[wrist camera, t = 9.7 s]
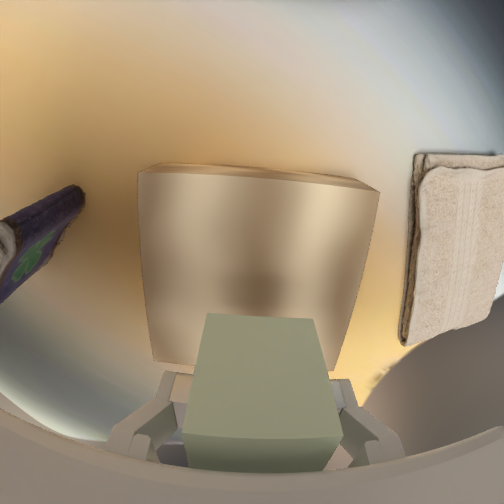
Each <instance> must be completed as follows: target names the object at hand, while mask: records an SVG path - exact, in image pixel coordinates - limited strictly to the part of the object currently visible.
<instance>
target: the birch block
mask: <svg viewBox="0 0 504 504" xmlns="http://www.w3.org/2000/svg"><path fill="white" fill-rule="evenodd" d="M379 195H380V192H379V191H377V190H375V189H373V188H372V187H370V186H368V185H366V184H364V183H362V182H360V181H359V180H357V179H354V178H347V177H340V176H333V175H325V174H317V173H308V172H299V171H290V170H280V169H269V168H257V167H243V166H227V165H208V164H180V163H159V164H157V165H155V166H152V167H150V168H148V169H145V170H143V171H141V172H138V218H139V238H140V253H141V266H142V277H143V287H144V296H145V305H146V313H147V320H148V328H149V334H150V341H151V347H152V354H153V359H154V361H160V362H167V363H175V364H183V365H192V366H195V365H196V361H197V356H198V351H199V347H200V342H201V338H202V333H203V329H204V325H205V320H206V316H207V313H216V314H230V315H245V316H262V317H282V318H309V319H313V321H314V324H315V328H316V331H317V335H318V338H319V342H320V346H321V349H322V353H323V357H324V360H325V364H326V368H327V371H334V368H335V365H336V362H337V359H338V356H339V354H340V351H341V347H342V344H343V341H344V338H345V335H346V332H347V329H348V325H349V322H350V319H351V315H352V312H353V308H354V305H355V301H356V298H357V294H358V290H359V287H360V283H361V279H362V275H363V271H364V267H365V263H366V259H367V254H368V250H369V246H370V241H371V236H372V232H373V227H374V222H375V217H376V212H377V206H378V201H379Z"/></svg>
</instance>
